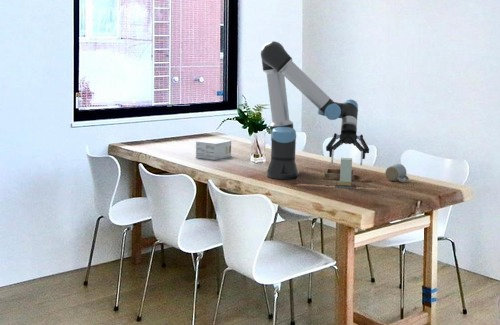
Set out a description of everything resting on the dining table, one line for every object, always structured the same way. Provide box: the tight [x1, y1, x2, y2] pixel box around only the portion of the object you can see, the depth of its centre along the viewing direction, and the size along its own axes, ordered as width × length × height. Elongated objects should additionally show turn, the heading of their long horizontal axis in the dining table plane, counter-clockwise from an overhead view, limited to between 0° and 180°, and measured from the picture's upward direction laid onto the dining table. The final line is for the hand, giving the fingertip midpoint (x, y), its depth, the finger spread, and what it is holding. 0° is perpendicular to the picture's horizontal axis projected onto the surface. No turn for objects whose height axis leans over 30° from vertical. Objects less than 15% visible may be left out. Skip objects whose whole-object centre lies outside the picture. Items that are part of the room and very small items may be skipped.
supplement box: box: [195, 138, 232, 161], centre depth 381 cm, size 17×13×9 cm
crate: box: [323, 168, 356, 181], centre depth 326 cm, size 14×14×4 cm
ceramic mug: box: [384, 163, 409, 183], centre depth 324 cm, size 11×8×8 cm
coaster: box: [334, 184, 356, 190], centre depth 309 cm, size 9×9×1 cm
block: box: [338, 157, 353, 186], centre depth 308 cm, size 5×5×12 cm
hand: (346, 163), depth 318 cm, fingers open, 13 cm apart
